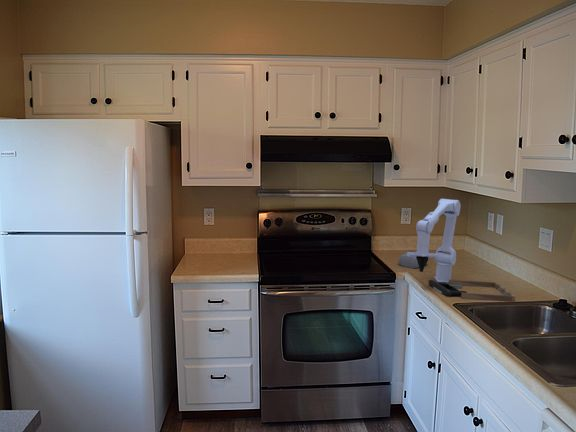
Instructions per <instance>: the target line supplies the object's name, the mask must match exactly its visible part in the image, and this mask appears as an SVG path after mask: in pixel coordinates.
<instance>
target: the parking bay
mask: <svg viewBox="0 0 576 432" xmlns="http://www.w3.org/2000/svg"><path fill="white" fill-rule="evenodd" d="M448 284H449V285H461V286H462V287H463V286H465V287H483V288H495V289H496V290H497V291H498V292H500V293H501V294H491V293H473V292H467V293H461V296H460V298H461V299H465V300H466V299H467V300H484V301H485V300H486V301H500V302H501V301H502V302H516V296H515V295H514V294H513V293H511V292H510V291H509V290H507V289H506V288H505V287H504V286H502V285H501V284H500V283H499V282H495V281H481V280H463V279H451V280H449V283H448Z"/></svg>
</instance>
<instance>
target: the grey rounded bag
mask: <svg viewBox="0 0 576 432" xmlns="http://www.w3.org/2000/svg"><path fill="white" fill-rule="evenodd" d="M428 261H429V260H428ZM428 261H427V263H426V265H427V264H428ZM398 264H399V265H400V266H402V267H403V268H409V269H419V265H418V261H417V259H416V257H408V256H407V252H405V253H402V254H401V255H399V259H398Z"/></svg>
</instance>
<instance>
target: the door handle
mask: <svg viewBox="0 0 576 432" xmlns="http://www.w3.org/2000/svg"><path fill="white" fill-rule="evenodd" d="M427 284H429V286H431V287H433V288H432V289H434V290H435V291H437V292H438V293H440V294H443V295H445V296H447V297H461V293H468V292H467V291H465V290H462V289H463V285H449V283H448V282H437V281H436V280H435V279H434V280H433V279H429V280H428V282H427ZM459 289H460V290H459Z"/></svg>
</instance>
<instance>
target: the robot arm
mask: <svg viewBox="0 0 576 432" xmlns="http://www.w3.org/2000/svg"><path fill="white" fill-rule="evenodd" d="M461 205H462V204H461V202H460V200H458V199H448V198H440V199H439V200H438V201H437V207H436V208H435V209H434V211H430V212H428V214H427V215H426V216H425V217H424V218H423V219H420V220H419V221H417V222H416V224H415V225H416V226H415V229H416V235H417V243H416V251H407V252H406V253H407V256H408V257H416V259H417V261H418V265H419V268H418V269H419V270H418V272H420V273H423V272H424V269H425V267H426V265H427V264H428V262H427V261H429V258H430V259H431V258H433V259H434V261H435V262H436V268H435V275H434V276H433V278H434V280H435V281H436V282H437V283H447V284H449V280H452V269H453V266H454V265H455V264H456V261H457V251H456V250H455V249H454V247H453V241H454V235H455V230H456V223H457V217H458V216H459V217H460V212H461ZM441 215H445V217H446V219H445V223H444V231H443V236H442V242H441V246H439V247H438V248H436V252H435V253H434V252H433V253H431V252H429V251H430V237H431V233H433V230H434V227H435V224H437V222H439V220H440V217H441ZM426 263H427V264H426Z"/></svg>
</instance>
